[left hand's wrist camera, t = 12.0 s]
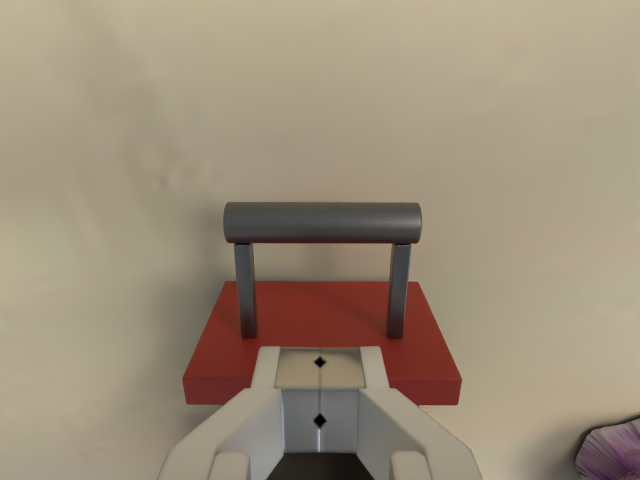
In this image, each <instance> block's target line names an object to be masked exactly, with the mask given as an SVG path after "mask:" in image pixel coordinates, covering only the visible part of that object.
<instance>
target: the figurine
mask: <svg viewBox="0 0 640 480" xmlns="http://www.w3.org/2000/svg"><path fill="white" fill-rule="evenodd" d="M580 449H581V450H580V451H579V453H578V454H577V457H576V462H575V463H576V466H575V467H576V469H577V471H578V473H579V475H580V476H581V477H582V478H583V479H584V480H640V418H639V419H635V420H632V421H629V422H627V423H625V424H620V425H616V426H615V425H612V426H605V427H603V428H599V429H594V430H593V431H591V433H590V434H589V435H587V438H585V441H584V444H582V447H581V448H580Z"/></svg>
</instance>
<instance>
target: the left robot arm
mask: <svg viewBox="0 0 640 480" xmlns="http://www.w3.org/2000/svg"><path fill="white" fill-rule="evenodd" d="M311 452H328V453H357V454H356V455H357V456H358V458H359V459H360V461H361V462H362V463H363V465H364V466H365V467H366V469H367V470H368V471H369V473H370V474H371V476H372V477H373V478H374V480H483V477H482V475H481V473H480V470H479V468H478V465H477V463H476V460H475V458H474V456H473V453H472V451H471V449H470V448H469V447H467V446H466V445H465V444H464V443H462V442H461V441H460V440H459V439H457V438H456V437H455V436H454V435H453V434H451V433H450V432H449V431H448V430H446V429H445V428H444V427H443V426H441V425H440V424H439V423H438V422H436V421H435V420H434V419H433V418H432V417H430V416H429V415H428V414H427V413H425V412H424V411H423V410H422V409H420V408H419V407H418V406H417V405H415V404H414V403H413V402H412V401H411V400H409V399H408V398H407V397H406V396H404V395H403V394H402V393H401V392H399V391H398V390H397V389H396V388H390V387H389V383H388V379H387V374H386V370H385V366H384V362H383V357H382V353H381V349H380V347H379V346H365V347H335V348H320V347H285V346H281V347H280V346H261V348H260V349H259V353H258V357H257V361H256V366H255V370H254V374H253V379H252V383H251V387H250V388H244V389H243V390H242V391H241V392H239V393H238V394H237V395H236V396H234V397H233V398H232V399H231V400H229V401H228V402H227V403H226V404H224V405H223V406H222V407H221V408H219V409H218V410H217V411H216V412H215V413H213V414H212V415H211V416H210V417H208V418H207V419H206V420H205V421H203V422H202V423H201V424H200V425H198V426H197V427H196V428H195V429H193V430H192V431H191V432H190V433H188V434H187V435H186V436H185V437H183V438H182V439H181V440H180V441H179V442H177V443H176V444H175V445H174V446H172V447H171V448H170V449H169V451H168V454H167V456H166V458H165V461H164V463H163V466H162V468H161V470H160V473H159V475H158V478H157V480H266V479H267V477H268V476H269V475H270V473H271V472H272V470H273V469H274V468H275V466H276V465H277V464H278V462H279V461H280V460H281V458H282V457H283V456H284V454H283V453H311Z"/></svg>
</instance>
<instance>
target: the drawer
mask: <svg viewBox="0 0 640 480" xmlns="http://www.w3.org/2000/svg"><path fill="white" fill-rule="evenodd" d="M223 226H224V235H225V239H226V241H227V242H228V243H235V244H234V253H235V265H236V277H237V281H227V282H225V284H224V286H223V289H222V291H221V293H220V295H219V298H218V300H217V302H216V304H215V306H214V309H213V311H212V313H211V315H210V318H209V320H208V322H207V324H206V327H205V329H204V331H203V333H202V336H201V338H200V340H199V342H198V345H197V347H196V349H195V351H194V354H193V356H192V358H191V360H190V362H189V365H188V367H187V369H186V371H185V374H184V376H183V378H182V379H183V385H184V392H185V398H186V403H187V404H226V403H227V402H228V401H229V400H231V399H232V398H233V397H234V396H236V395H237V394H238V393H239V392H241V391H242V390H243V389H244V388H250V387H251V383H252V379H253V374H254V370H255V366H256V361H257V357H258V353H259V349H260V348H261V346H280V347H281V346H285V347H320V348H335V347H365V346H379V347H380V349H381V353H382V357H383V362H384V366H385V370H386V374H387V379H388V383H389V387H390V388H396V389H397V390H398V391H399V392H401V393H402V394H403V395H404V396H406V397H407V398H408V399H409V400H411V401H412V402H413V403H414V404H415V405H417V406H418V407H419V405H458V401H459V395H460V389H461V383H462V378H461V376H460V373H459V371H458V369H457V367H456V365H455V362H454V360H453V358H452V356H451V354H450V351H449V349H448V347H447V345H446V342H445V340H444V338H443V336H442V334H441V331H440V329H439V327H438V325H437V323H436V320H435V318H434V316H433V314H432V311H431V309H430V307H429V305H428V303H427V300H426V298H425V296H424V294H423V292H422V289H421V287H420V285H419V283H418V282H408V276H409V265H410V254H411V244H410V243H418V242H419V240H420V236H421V230H422V215H421V209H420V206H419V204H418V203H349V202H228V203H227V204H226V206H225V209H224V218H223ZM253 243H392V250H391V263H390V277H389V282H287V281H255V270H254V254H253ZM419 408H420V407H419ZM283 454H284V456H283V457H282V458H281V460H280V461H279V462H278V464H277V465H276V466H275V468H274V469H273V470H272V472H271V473H270V475H269V476H268V477H267V479H266V480H374V478H373V477H372V476H371V474H370V473H369V471H368V470H367V469H366V467H365V466H364V465H363V463H362V462H361V461H360V459H359V458H358V456H357V455H356V454H357V453H328V452H311V453H283Z"/></svg>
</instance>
